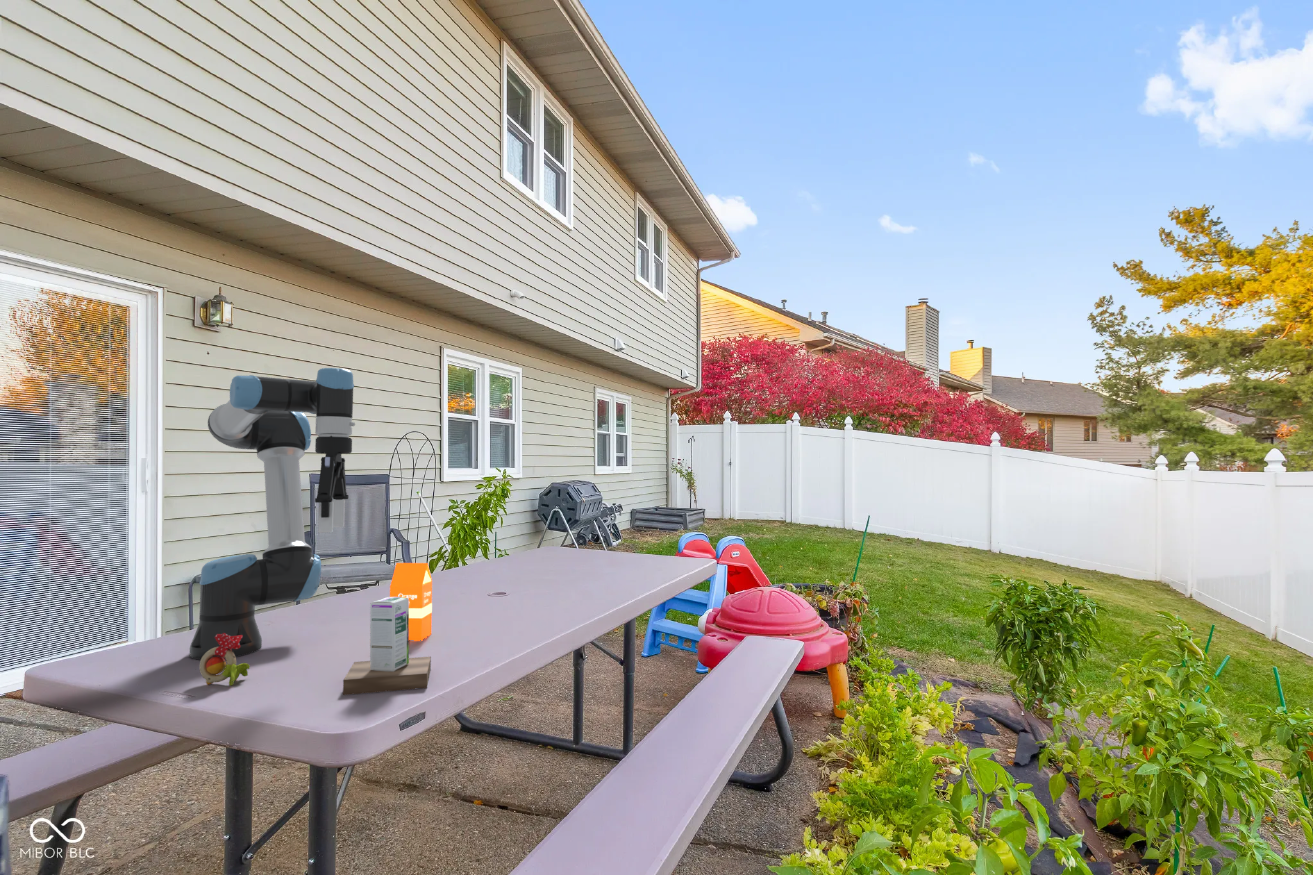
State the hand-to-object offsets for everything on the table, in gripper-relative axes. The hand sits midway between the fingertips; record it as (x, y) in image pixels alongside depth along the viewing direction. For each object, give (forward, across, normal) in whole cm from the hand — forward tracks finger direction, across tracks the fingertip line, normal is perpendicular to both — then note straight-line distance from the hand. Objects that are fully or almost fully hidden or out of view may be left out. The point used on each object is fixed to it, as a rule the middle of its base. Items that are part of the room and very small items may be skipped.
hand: (331, 530), depth 151 cm
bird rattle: (+32, -3, +20) cm, 38 cm away
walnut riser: (+32, -11, -14) cm, 36 cm away
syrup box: (+29, -11, -14) cm, 34 cm away
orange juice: (+32, +28, -15) cm, 45 cm away
